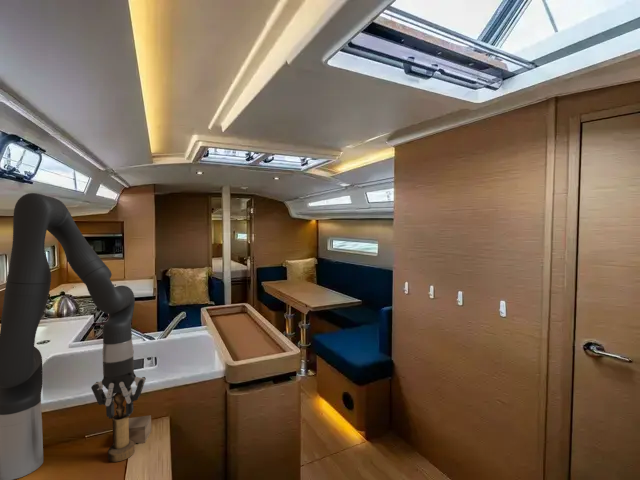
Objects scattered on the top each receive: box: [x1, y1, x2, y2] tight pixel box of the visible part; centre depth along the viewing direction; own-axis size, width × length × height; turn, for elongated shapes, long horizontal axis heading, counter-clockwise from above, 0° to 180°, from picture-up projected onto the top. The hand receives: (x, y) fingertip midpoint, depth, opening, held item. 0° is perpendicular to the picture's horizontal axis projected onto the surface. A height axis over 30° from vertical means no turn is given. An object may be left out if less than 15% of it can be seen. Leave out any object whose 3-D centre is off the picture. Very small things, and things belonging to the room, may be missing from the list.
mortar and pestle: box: [107, 392, 136, 463], centre depth 96 cm, size 7×6×18 cm
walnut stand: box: [128, 415, 152, 445], centre depth 104 cm, size 8×6×5 cm
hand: (120, 415), depth 96 cm, fingers closed on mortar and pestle, 4 cm apart
